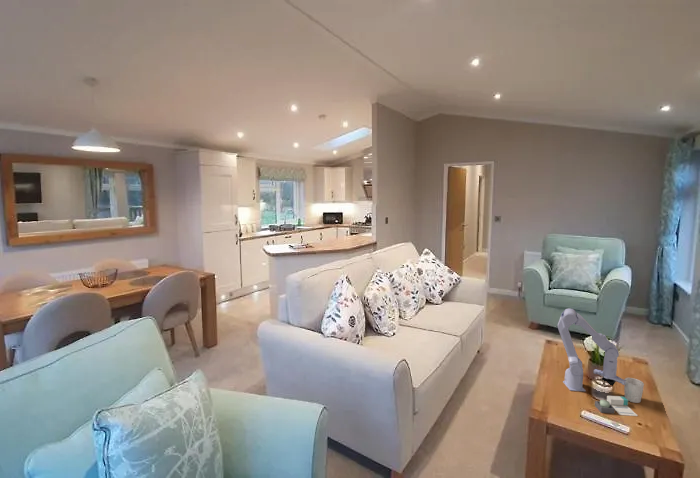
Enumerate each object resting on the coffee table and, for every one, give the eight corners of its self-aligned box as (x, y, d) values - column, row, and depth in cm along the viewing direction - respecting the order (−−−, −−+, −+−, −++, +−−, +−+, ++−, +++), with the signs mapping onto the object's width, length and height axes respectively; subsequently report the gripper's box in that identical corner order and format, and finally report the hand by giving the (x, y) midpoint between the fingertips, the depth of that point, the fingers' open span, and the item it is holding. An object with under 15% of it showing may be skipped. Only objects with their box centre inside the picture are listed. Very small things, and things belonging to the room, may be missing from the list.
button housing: (594, 405, 183) (594, 400, 183) (607, 406, 183) (607, 401, 182) (601, 412, 178) (601, 407, 177) (614, 413, 177) (614, 408, 176)
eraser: (610, 405, 183) (610, 399, 183) (606, 401, 187) (607, 395, 186) (627, 406, 182) (628, 400, 182) (623, 402, 186) (624, 396, 185)
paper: (610, 405, 183) (610, 405, 183) (627, 406, 182) (627, 406, 182) (620, 415, 175) (620, 414, 175) (637, 416, 174) (638, 415, 174)
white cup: (644, 405, 183) (646, 386, 182) (625, 401, 186) (626, 383, 185) (639, 397, 190) (641, 379, 189) (621, 393, 193) (622, 376, 192)
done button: (597, 404, 182) (598, 399, 182) (606, 405, 182) (606, 399, 181) (602, 409, 178) (602, 404, 178) (611, 410, 178) (611, 404, 177)
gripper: (591, 363, 195) (589, 387, 197) (621, 375, 182) (619, 400, 184) (598, 360, 198) (596, 383, 200) (628, 371, 186) (626, 396, 188)
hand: (608, 391), depth 192 cm, fingers closed
